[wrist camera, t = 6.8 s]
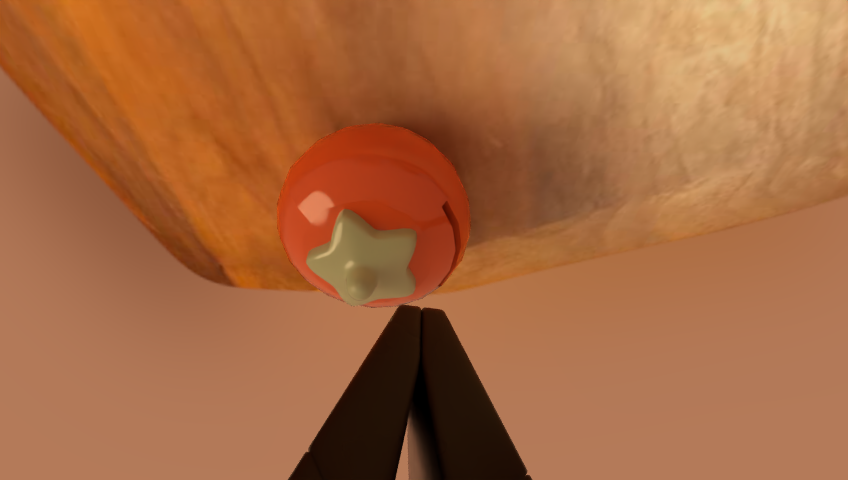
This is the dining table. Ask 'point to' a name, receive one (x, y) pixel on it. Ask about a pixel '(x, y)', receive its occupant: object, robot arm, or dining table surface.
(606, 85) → the dining table surface
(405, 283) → the tomato
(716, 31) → the dining table surface
